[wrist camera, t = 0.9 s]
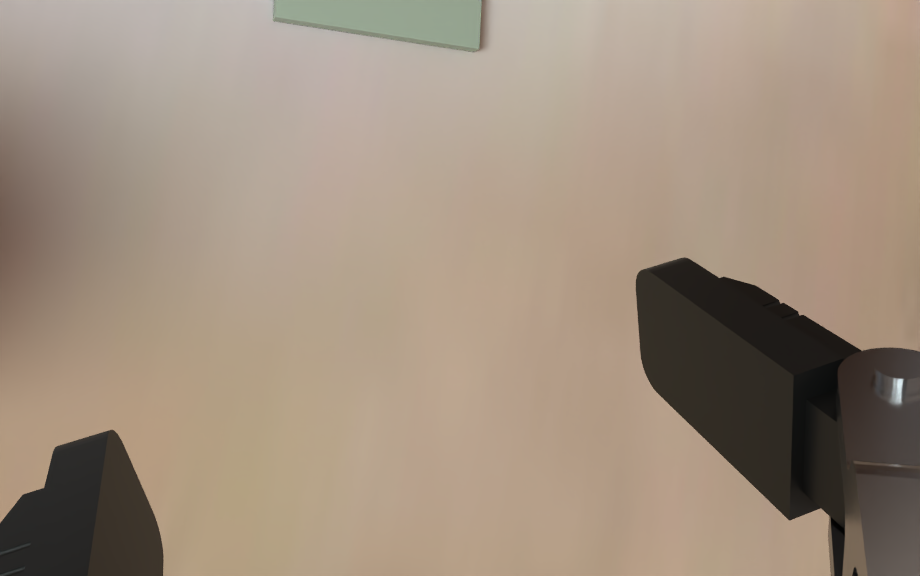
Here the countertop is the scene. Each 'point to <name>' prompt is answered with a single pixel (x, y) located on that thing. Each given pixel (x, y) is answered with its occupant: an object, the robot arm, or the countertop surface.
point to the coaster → (391, 19)
